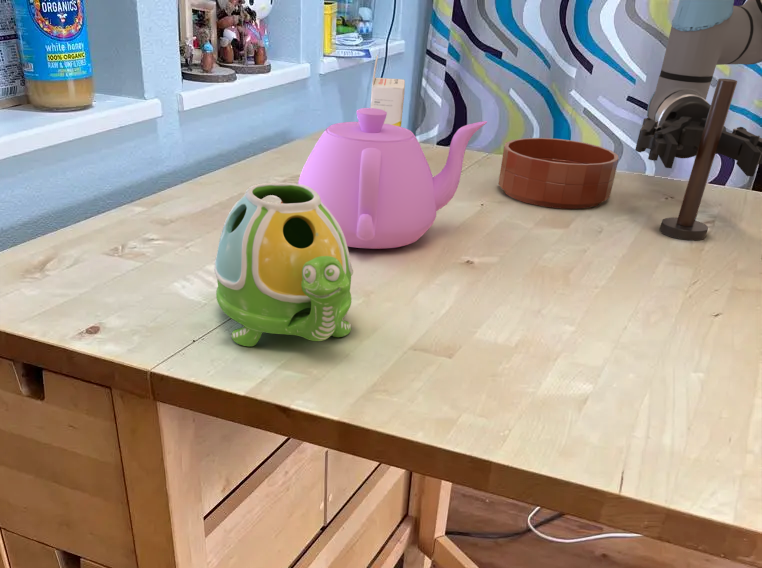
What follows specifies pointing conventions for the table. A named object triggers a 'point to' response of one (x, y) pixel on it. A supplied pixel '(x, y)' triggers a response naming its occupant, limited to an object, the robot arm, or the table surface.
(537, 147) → the bowl
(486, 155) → the table surface
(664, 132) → the robot arm
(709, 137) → the peg on round base
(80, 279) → the table surface
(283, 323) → the turtle holder
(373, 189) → the teapot
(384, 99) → the ink cartridge box
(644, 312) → the table surface
